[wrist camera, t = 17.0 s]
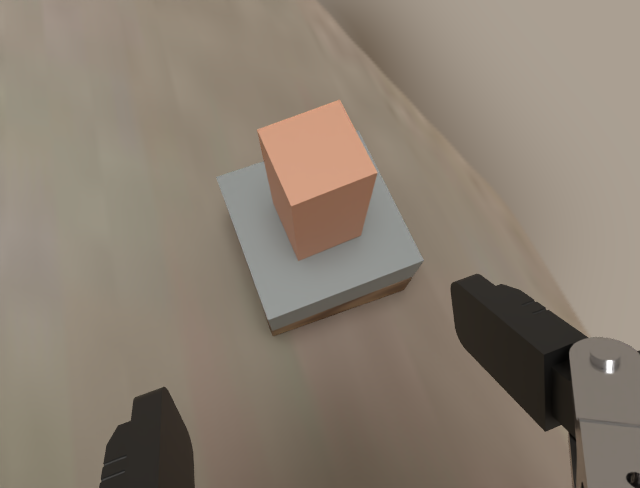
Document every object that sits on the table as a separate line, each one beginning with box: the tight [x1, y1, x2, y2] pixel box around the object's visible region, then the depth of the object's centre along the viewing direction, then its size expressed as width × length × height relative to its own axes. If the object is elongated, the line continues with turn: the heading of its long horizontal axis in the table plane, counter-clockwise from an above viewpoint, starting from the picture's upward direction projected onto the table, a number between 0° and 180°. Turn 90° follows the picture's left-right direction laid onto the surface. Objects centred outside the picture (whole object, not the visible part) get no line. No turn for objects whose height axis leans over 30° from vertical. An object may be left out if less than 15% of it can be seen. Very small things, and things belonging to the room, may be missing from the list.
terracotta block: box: [257, 100, 378, 261], centre depth 30 cm, size 5×5×10 cm
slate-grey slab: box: [216, 131, 424, 331], centre depth 37 cm, size 12×12×4 cm
